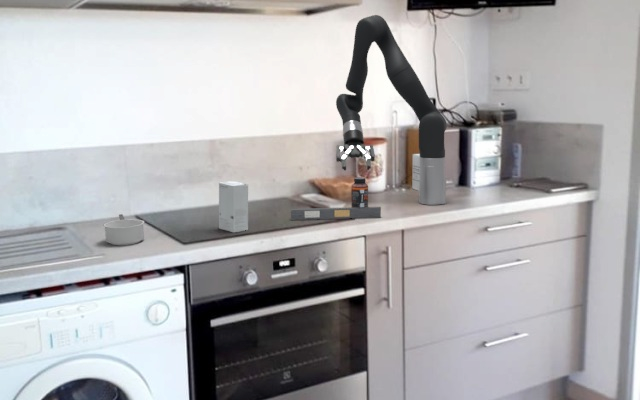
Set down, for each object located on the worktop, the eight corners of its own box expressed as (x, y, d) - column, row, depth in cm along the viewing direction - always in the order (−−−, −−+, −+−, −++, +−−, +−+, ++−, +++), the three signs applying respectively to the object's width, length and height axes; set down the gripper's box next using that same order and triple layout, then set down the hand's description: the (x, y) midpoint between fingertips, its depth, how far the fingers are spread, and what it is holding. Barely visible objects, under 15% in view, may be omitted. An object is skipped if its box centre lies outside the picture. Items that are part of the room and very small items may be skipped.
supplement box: (430, 187, 274) (431, 152, 272) (441, 190, 266) (441, 154, 263) (411, 188, 272) (411, 153, 269) (421, 192, 263) (421, 155, 260)
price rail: (380, 216, 216) (380, 206, 215) (380, 217, 214) (380, 207, 213) (290, 219, 214) (290, 209, 213) (291, 220, 212) (290, 210, 211)
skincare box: (218, 229, 201) (216, 182, 198) (234, 226, 205) (232, 180, 202) (234, 233, 195) (232, 185, 192) (250, 230, 199) (248, 182, 196)
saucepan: (141, 230, 202) (139, 212, 201) (147, 244, 183) (146, 225, 182) (102, 233, 198) (101, 215, 197) (105, 248, 179) (104, 229, 178)
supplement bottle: (366, 211, 226) (366, 179, 224) (350, 210, 227) (350, 179, 225) (369, 207, 232) (369, 176, 230) (352, 207, 233) (352, 176, 231)
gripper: (335, 129, 240) (338, 163, 231) (372, 128, 241) (377, 162, 232) (333, 141, 247) (336, 175, 237) (370, 141, 248) (374, 174, 238)
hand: (356, 168), depth 235 cm, fingers open, 8 cm apart
